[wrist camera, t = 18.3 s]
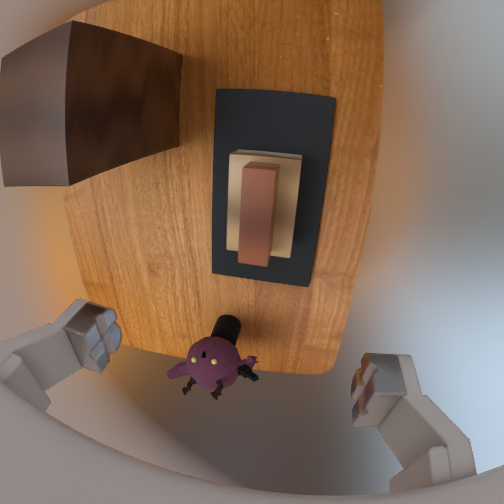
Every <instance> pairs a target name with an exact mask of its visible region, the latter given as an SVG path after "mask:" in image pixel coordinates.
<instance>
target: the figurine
mask: <svg viewBox="0 0 504 504" xmlns="http://www.w3.org/2000/svg"><path fill="white" fill-rule="evenodd" d="M240 329H241V323H240V321H239V320H238V319H237V318H235V317H234V316H231V315H222V316H220V317H219V318H218V320H217V322H216V324H215V327H214V329H213V331H212V334H211V336H210V337H205V338H203V339H201V340H199V341H198V342H196V343H194V344H193V345H192V346H191V348H190V349H189V352H188V356H187V360H186V362H182V363H179V364H177V365H176V366H174V367H173V368H172V369H171V370H169V371H168V372H167V375H168V377H169V379H173V378H177V377H180V376H183V375H190V377H191V378H190V381H189V382H188V384H187V387H184V388H183V389H182V391H183V393H184V395H186V393H187V392H188V390H189V391H190V389H191V387H192V385H193V384H195V383H196V384H197V385H198V386H200V387H202V388H204V389H207V390H215V391H214V392H212V393H211V395H212V397H213V398H214V399H216V400H217V399H218V397H217V396H219V395H221V390H222V389H223V388H226V387H228V386H230V385H232V384H233V383H234V382H235V380H236V378H237V377H238V375H242V376H243V377H244V378H246V377H248V378H249V379H251V380H252V381H253V382H254V381H256V380H258V379H259V378H258V376H257V375H256V374H255V373H253V372H252V368H253V366H254V365H255V363H258V362H257V361H256V359H257V357H255V356H248V357H247V359H244V360H241V358H240V356H239V353H238V350H237V348H236V347H235V345H236V342H237V339H238V336H239V332H240Z"/></svg>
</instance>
